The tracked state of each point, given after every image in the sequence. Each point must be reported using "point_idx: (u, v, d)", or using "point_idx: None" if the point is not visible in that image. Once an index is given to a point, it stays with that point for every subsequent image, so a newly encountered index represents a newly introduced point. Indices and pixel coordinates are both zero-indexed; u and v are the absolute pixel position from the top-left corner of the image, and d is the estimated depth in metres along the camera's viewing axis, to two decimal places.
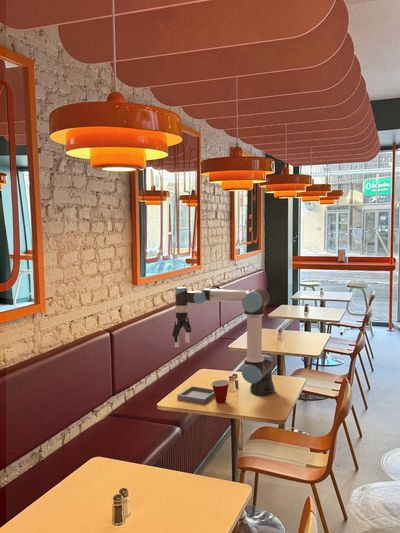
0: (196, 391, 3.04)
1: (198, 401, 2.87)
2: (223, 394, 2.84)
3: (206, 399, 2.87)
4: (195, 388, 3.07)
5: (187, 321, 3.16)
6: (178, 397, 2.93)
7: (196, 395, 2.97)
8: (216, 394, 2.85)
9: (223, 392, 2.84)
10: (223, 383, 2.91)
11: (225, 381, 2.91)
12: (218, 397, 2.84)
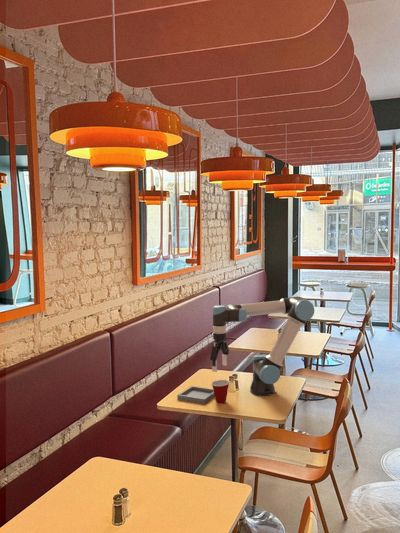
0: (196, 391, 3.04)
1: (198, 401, 2.87)
2: (223, 394, 2.84)
3: (206, 399, 2.87)
4: (195, 388, 3.07)
5: (225, 342, 2.90)
6: (178, 397, 2.93)
7: (196, 395, 2.97)
8: (216, 394, 2.85)
9: (223, 392, 2.84)
10: (223, 383, 2.91)
11: (225, 381, 2.91)
12: (218, 397, 2.84)
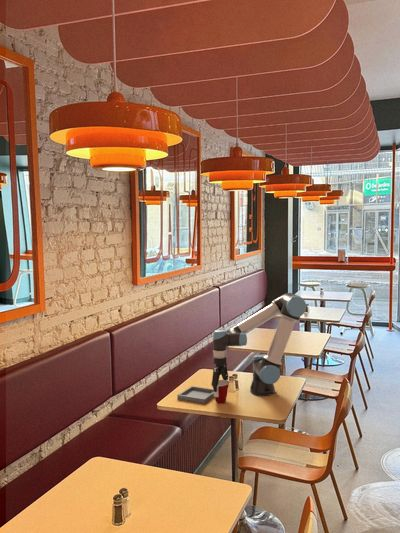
0: (196, 391, 3.04)
1: (198, 401, 2.87)
2: (223, 394, 2.84)
3: (206, 399, 2.87)
4: (195, 388, 3.07)
5: (225, 367, 2.91)
6: (178, 397, 2.93)
7: (196, 395, 2.97)
8: None
9: (223, 392, 2.84)
10: (223, 383, 2.91)
11: (225, 381, 2.91)
12: (218, 397, 2.84)
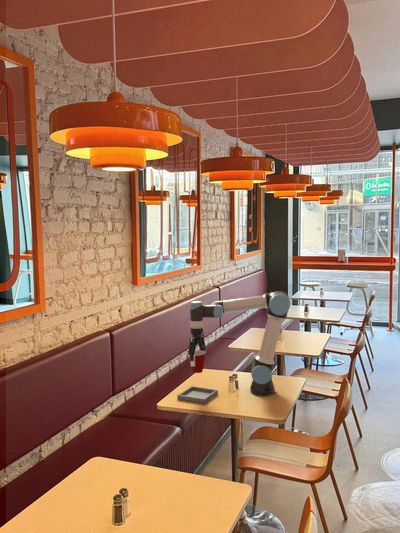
0: (196, 391, 3.04)
1: (198, 401, 2.87)
2: (200, 363, 2.92)
3: (206, 399, 2.87)
4: (195, 388, 3.07)
5: (202, 338, 2.99)
6: (178, 397, 2.93)
7: (196, 395, 2.97)
8: None
9: (200, 361, 2.91)
10: (200, 353, 2.99)
11: (202, 351, 2.98)
12: (195, 366, 2.92)
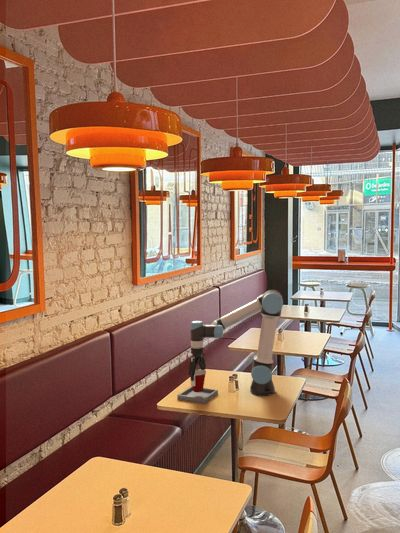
0: None
1: (198, 401, 2.87)
2: (200, 383, 2.93)
3: (206, 399, 2.87)
4: None
5: (202, 357, 3.00)
6: (178, 397, 2.93)
7: (196, 395, 2.97)
8: None
9: (200, 381, 2.92)
10: (200, 373, 3.00)
11: (202, 371, 2.99)
12: (195, 386, 2.93)
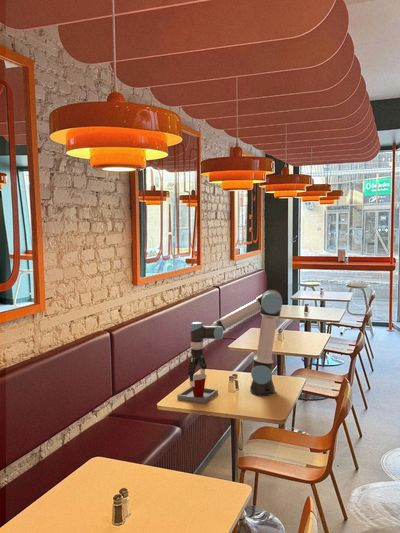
0: None
1: (198, 401, 2.87)
2: (200, 387, 2.93)
3: (206, 399, 2.87)
4: None
5: (202, 357, 3.00)
6: (178, 397, 2.93)
7: None
8: (193, 388, 2.94)
9: (200, 385, 2.93)
10: (201, 377, 3.00)
11: (202, 375, 3.00)
12: (195, 390, 2.94)
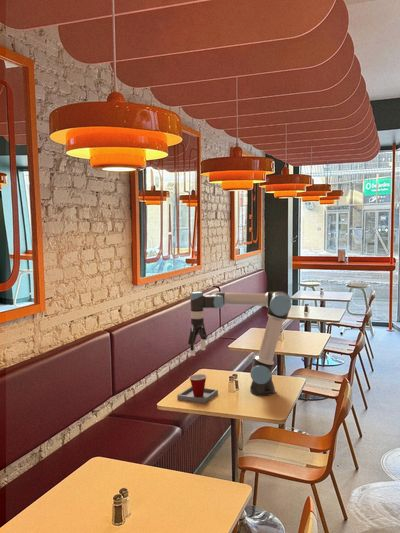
0: None
1: (198, 401, 2.87)
2: (200, 388, 2.93)
3: (206, 399, 2.87)
4: None
5: (203, 328, 3.00)
6: (178, 397, 2.93)
7: None
8: (194, 388, 2.94)
9: (200, 386, 2.93)
10: (201, 377, 3.00)
11: (203, 375, 3.00)
12: (195, 391, 2.94)
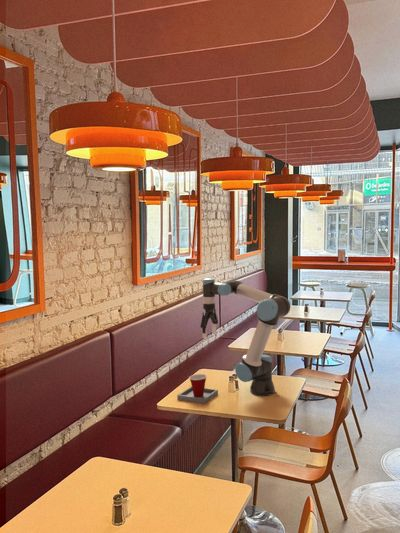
0: None
1: (198, 401, 2.87)
2: (200, 388, 2.93)
3: (206, 399, 2.87)
4: None
5: (214, 312, 3.18)
6: (178, 397, 2.93)
7: None
8: (194, 388, 2.94)
9: (200, 386, 2.93)
10: (201, 377, 3.00)
11: (203, 375, 3.00)
12: (195, 391, 2.94)
